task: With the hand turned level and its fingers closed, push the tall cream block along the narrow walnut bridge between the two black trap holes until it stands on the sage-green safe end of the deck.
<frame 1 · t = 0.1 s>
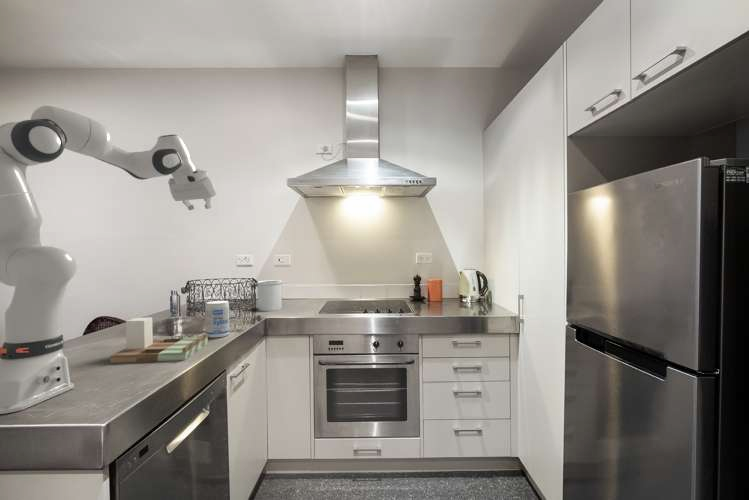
hand: (200, 208, 151), 54 cm above the worktop, tool tilted 30°, fingers open, 8 cm apart
utensil holder: (270, 309, 229), on the worktop
cream block: (140, 346, 135), point 2 cm above the worktop, touching trap deck
trap deck: (163, 352, 136), on the worktop
supplement tub: (217, 336, 161), on the worktop
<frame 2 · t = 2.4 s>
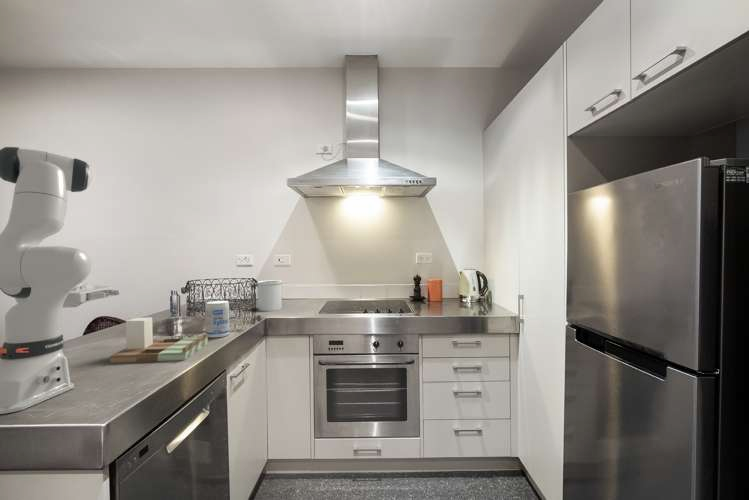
hand: (112, 293, 134), 22 cm above the worktop, tool horizontal, fingers open, 6 cm apart
nothing on the worktop moved.
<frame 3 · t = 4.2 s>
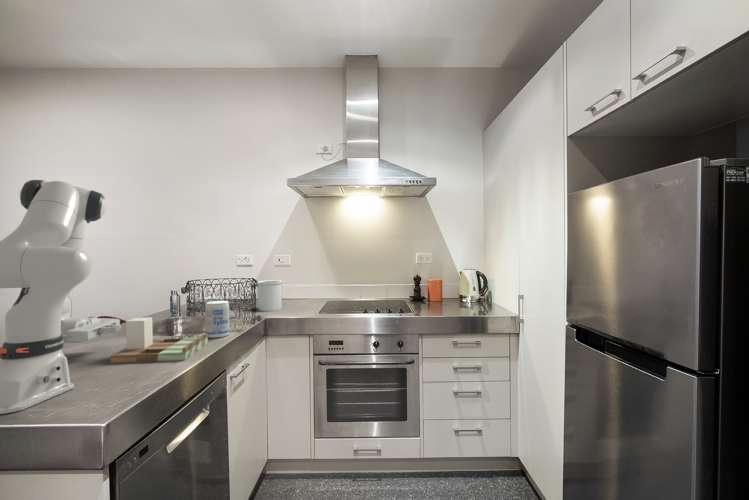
hand: (118, 328, 134), 9 cm above the worktop, tool horizontal, fingers closed
nothing on the worktop moved.
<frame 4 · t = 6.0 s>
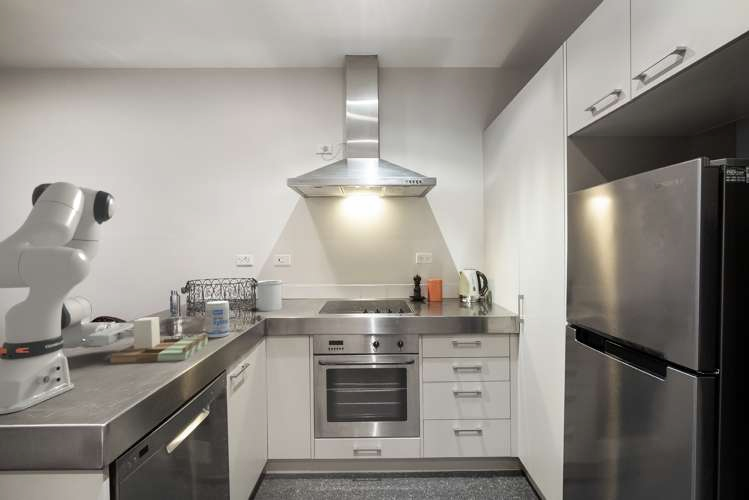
hand: (138, 333, 135), 7 cm above the worktop, tool horizontal, fingers closed
cream block: (147, 346, 135), point 3 cm above the worktop
everything else where it was.
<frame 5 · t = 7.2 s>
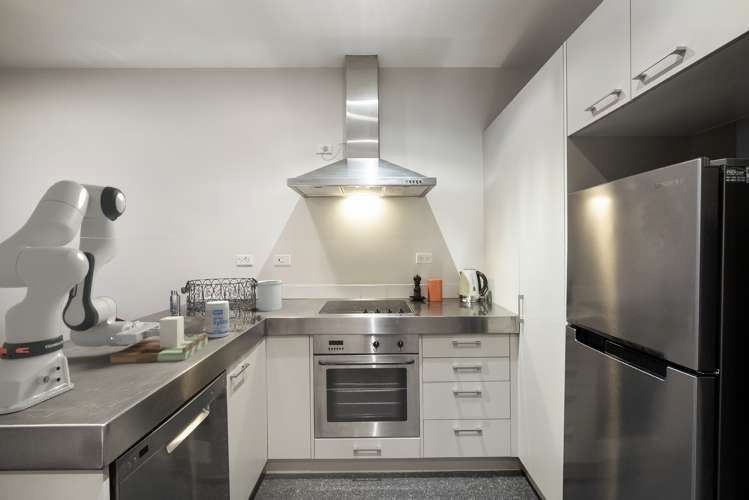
hand: (163, 332, 136), 7 cm above the worktop, tool horizontal, fingers closed, pressing on cream block
cream block: (172, 345, 136), point 3 cm above the worktop, touching gripper
everything else where it was.
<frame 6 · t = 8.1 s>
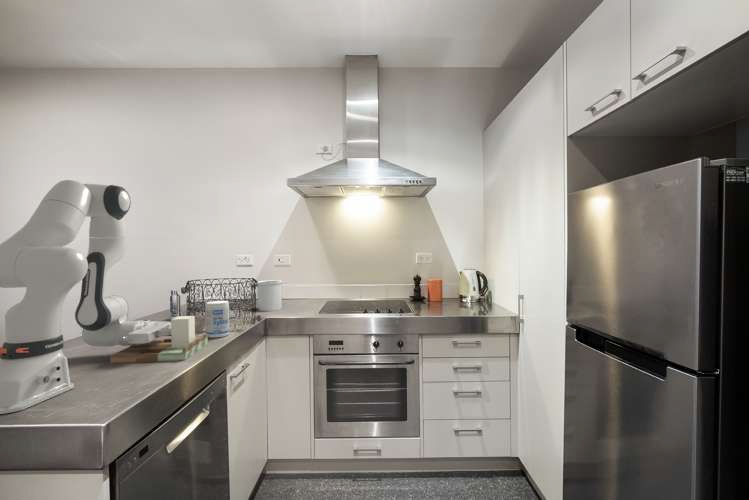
hand: (174, 331, 136), 8 cm above the worktop, tool horizontal, fingers closed, pressing on cream block
cream block: (183, 344, 137), point 3 cm above the worktop, touching gripper
everything else where it was.
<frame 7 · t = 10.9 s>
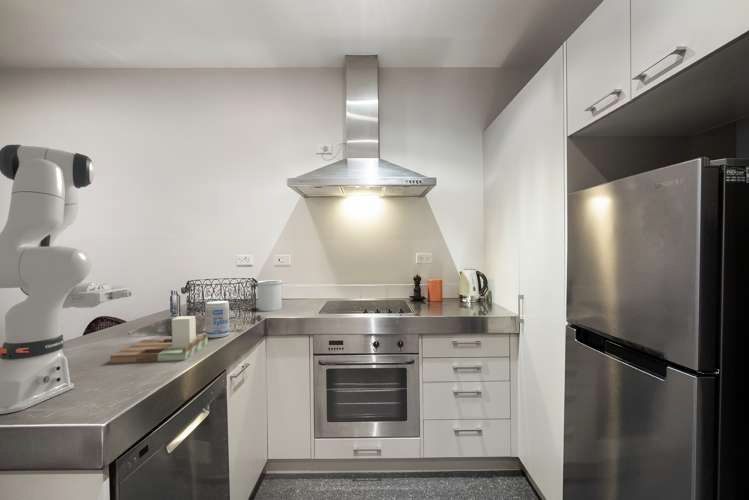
hand: (129, 294, 134), 22 cm above the worktop, tool horizontal, fingers closed
cream block: (184, 344, 137), point 2 cm above the worktop, touching trap deck
everything else where it was.
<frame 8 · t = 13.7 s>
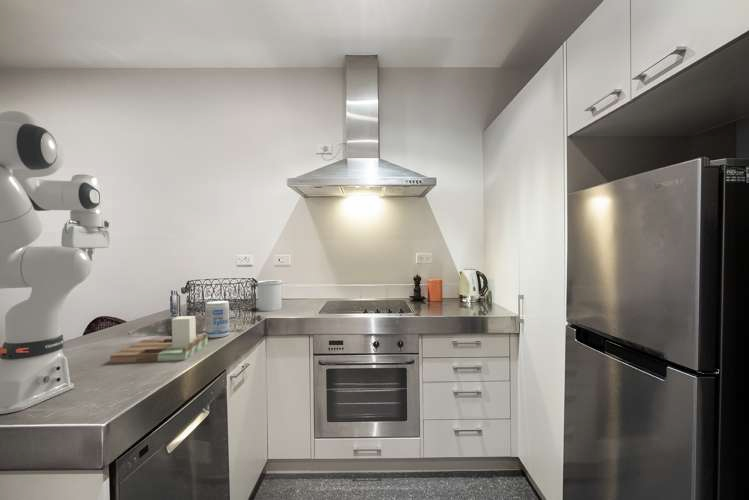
hand: (87, 261, 131), 34 cm above the worktop, tool pointing down, fingers closed
nothing on the worktop moved.
at the end: cream block inside the target area (0.1 cm from its centre), point 2.5 cm above the worktop; cream block tilted 0° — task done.
